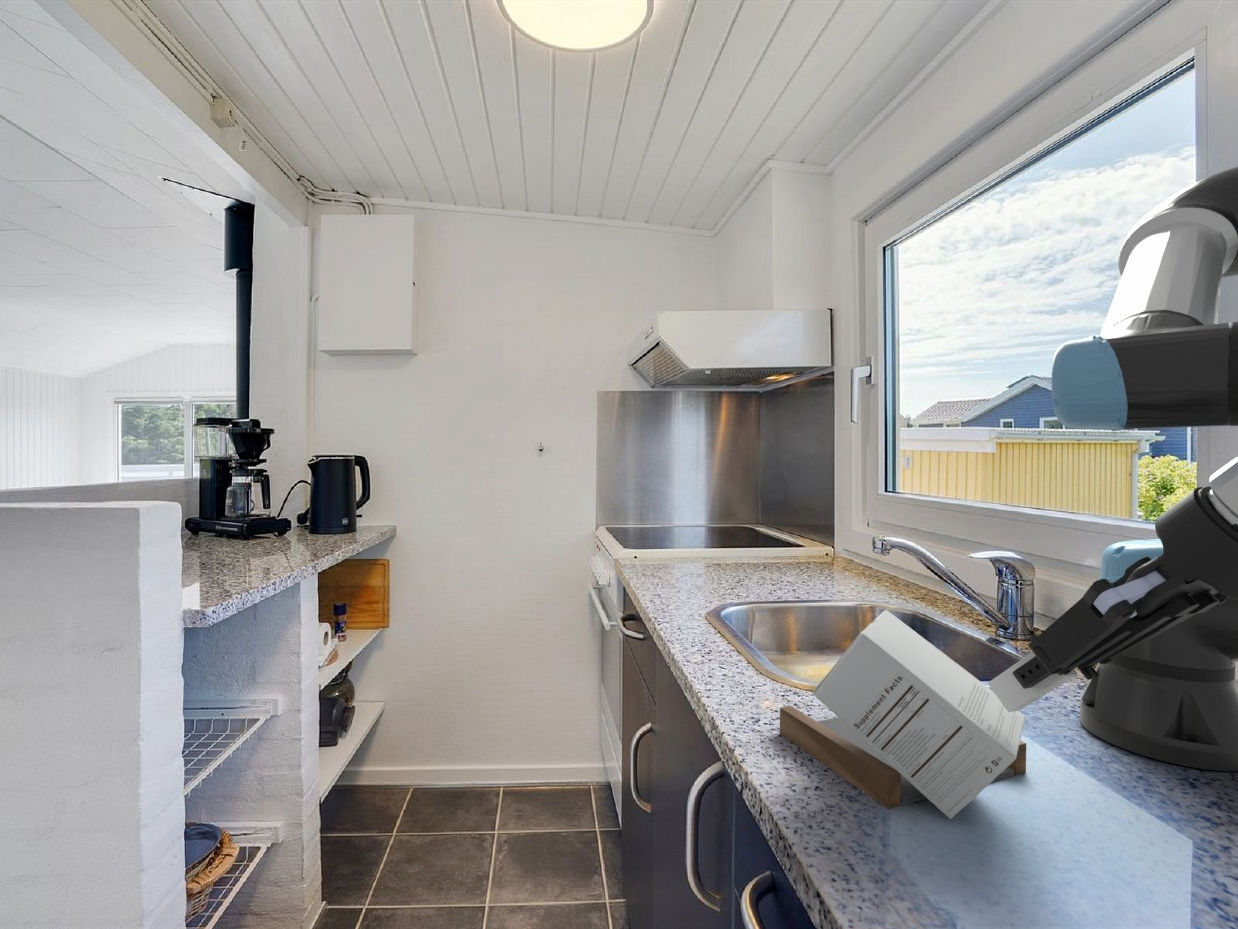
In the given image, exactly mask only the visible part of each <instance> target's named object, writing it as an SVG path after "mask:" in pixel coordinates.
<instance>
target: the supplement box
mask: <svg viewBox="0 0 1238 929" xmlns="http://www.w3.org/2000/svg"><path fill="white" fill-rule="evenodd" d="M812 695H813V696H814V697H816V699H818V700H819V701H820V702H821V703H822V704H823V705H825V707H827V708H828V710H830V711H831V712H832V713H833V714H834V715H835V716H836V717H837V718H838V717H839V718H840V719H841V720H842V721H843V722H844V723H845V724H846V725H848V726H849V727H850V728H851V729H852V730H853V731H854V732H855V733H856V734H857V735H858V736H860V737H861V738H862V739H863V740H864V741H865V742H866V743H867V744H868V745H869V746H871V747H872V748H873V749H874V750H875V751H876V752H877V753H878V754H879V755H880V756H881V757H883V758H884V759H885V760H886V761H887V762H888V763H889V764H890V765H891V766H892V767H893V768H895V769H896V770H897V771H898V772H899V773H900V774H901V775H902V776H903V777H904V778H905V779H907V780H908V781H909V782H910V783H911V784H912V785H913V786H914V787H915V788H916V789H918V790H919V791H920V792H921V793H922V794H923V795H924V796H925V797H926V799H927V800H928V801H929V802H931V803H932V804H933V805H934V806H935V807H936V808H937V809H938V810H939V811H940V812H942V814H944V815H945V816H946V817H947V818H948V819H949V820H952V819H953V818H954V817H955V816H956V815H957V814H958V813H959V812H961V811H962V810H963V809H964V808H965V807H966V806H967V805H969V803H970V802H971V801H973V800H974V799H975V798H976V797H977V796H978V795H979V794H980V793H981V792H982V791H983V790H984V789H985V788H986V787H987V786H989V785H990V784H991V783H992V782H994V781H993V780H994V779H995V778H996V777H997V776H998V775H999V774H1000V773H1001V772H1003V771H1004V770H1005V769H1006V768H1007V767H1008V766H1009V765H1010V764H1011V763H1012V762H1013V761H1014V760H1015V759H1016V757H1017V752H1018V748H1019V744H1020V741H1022V740H1021V739H1022V734H1023V730H1024V726H1025V721H1026V719H1027V718H1026V715H1025V714H1023V713H1022V712H1021V710H1018V711H1014V712H1009V713H1008V711H1007V710H1006V708H1005V707H1004V706H1003V704H1002V703H1001V701H1000V700H999V698H998V697H997V696H996V694H995V693H994V691H993V690H992V689H991V687H990V688H989V687H988V686H987V685H985V683H983V682H982V681H980V680H979V679H978V678H977V677H975V676H974V675H972V674H971V673H970V671H967V670H966V669H964V667H963V666H961V665H960V664H958V663H957V662H956V661H954V660H953V659H952V658H950V657H949V656H948V655H946V654H945V653H944V652H942V651H941V650H940V649H938V647H936V646H935V645H933V644H932V643H931V642H929V641H928V640H927V639H925V637H923V636H922V635H920V634H919V633H917V632H916V631H915V630H914V629H912V628H911V627H910V626H908V625H907V624H905V623H904V622H903V621H902V620H901V619H900V618H898V617H897V616H895V615H894V614H893V613H892V612H890V611H889V610H888V609H885V610H883V611H882V612H881V613H880V614H879V615H878V616H877V617H875V619H873V620H872V621H871V623H869V624H868V625H867V626H866V627H865V628H864V629H863V630H862V631H861V632H860V633H859V634H858V635H857V636H856V637H855V638H854V640H853V641H852V642H851V644H850V645H849V646H848V648H847V649H846V650H845V651H844V652H843V654H842V655H841V656H840V657H839V659H838V660H837V662H836V663H835V664H834V665H833V667H831V669H830V670H829V672H827V674H826V675H825V676H824V677H823V679H822V680H820V682H819V683H818V685H817V686H816V687H815V689H814V690H813V691H812Z"/></svg>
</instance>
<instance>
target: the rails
mask: <svg viewBox="0 0 1238 929" xmlns="http://www.w3.org/2000/svg"><path fill="white" fill-rule="evenodd" d="M817 721H818V720H815V719H813V718H812V717H810V716H808V715H807V714H806V713H804V712H802V711H800V710H798V709H797V708H795V707H793V706H792V705H786V706H781V707H779V734H780V735H782V736H783V737H784V738H786V739H788V740H789V741H790V742H792V743H793V744H794V745H795V746H797V747H799V748H800V749H802V750H803V751H805V752H806V753H808V754H809V755H810V756H811V757H813V758H815V759H816V760H818V762H820V763H821V764H823V765H824V766H826V767H828V768H829V769H830V770H832V771H833V772H834V773H836V774H837V775H839V776H840V777H842V778H843V779H845V780H846V781H848V782H849V783H850V784H852V785H853V786H855V787H856V788H857V789H859V790H860V791H862V792H863V793H864V794H866V795H867V796H869V797H870V798H872V799H873V800H875V801H876V802H877V803H879V804H880V805H882V806H884V808H886V809H892V808H895V807H899V806H901V804H900V790H901V774H900V773H899V772H898V771H897V770H895V769H894V768H892V767H890V766H889V765H887V764H885V763H884V762H882V761H881V760H879V759H877V758H876V757H874V756H872V755H871V754H869V753H867V752H866V751H864V750H862V749H861V748H859V747H858V746H856V745H854V744H853V743H851V742H849V741H848V740H846V739H844V738H843V737H841V736H840V735H838V734H836V733H835V732H833V731H831V730H830V729H828V728H826V727H825V726H823V725H822V724H820V723H818V722H817ZM1008 767H1010V768H1012V769H1014V776H1017V775H1018V776H1019V775H1021V774H1026V773H1027V742H1025V741H1022V740H1020V744H1019V748H1018V752H1017V757H1016V759H1015V760H1014V761H1013V762H1012V763H1011V764H1010V765H1009V766H1008Z"/></svg>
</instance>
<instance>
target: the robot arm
mask: <svg viewBox="0 0 1238 929" xmlns="http://www.w3.org/2000/svg"><path fill="white" fill-rule="evenodd" d="M1117 264H1118V265H1117V266H1118V270H1119V274H1120V275H1121V278H1120V279H1121V280H1120V281H1119V284H1118V286H1117V289H1116V292H1115V294H1114V298H1113V300H1112V303H1111V306H1110V308H1109V311H1108V314H1107V316H1106V319H1105V322H1104V323H1103V326H1102V328H1101V333H1100V334H1099V335H1098V334H1095V335H1091V336H1089V337H1087V338H1086V337H1085V338H1082V339H1076V340H1069V341H1067V342H1064V343H1062V344H1061V345H1060V346H1059V347H1058V348H1057V350H1056V351H1055V354H1054V357H1053V360H1052V367H1051V381H1050V382H1051V383H1050V384H1051V399H1052V407H1053V412H1054V415H1055V418H1057V421H1059V423H1060V424H1061V425H1062V426H1065V427H1067V428H1070V429H1079V430H1081V429H1082V430H1083V429H1084V430H1085V429H1088V430H1110V431H1112V432H1118V431H1119V432H1120V431H1122V430H1138V429H1140V430H1142V429H1143V430H1145V429H1167V428H1168V429H1172V428H1201V427H1202V428H1203V427H1204V428H1205V427H1206V428H1208V427H1238V321H1233V322H1222V323H1218V322H1219V313H1220V312H1219V311H1220V300H1221V289H1222V278H1227V277H1235V276H1238V166H1236V167H1233V168H1228V169H1226V170H1223V171H1220V172H1217V173H1214V174H1211V175H1210V176H1207V177H1206V178H1205V177H1204V178H1203V179H1200V180H1199V181H1197V182H1194V183H1193V184H1191V185H1188V186H1187V187H1185V188H1183V189H1182V190H1179V191H1178V192H1176V193H1174V194H1172V196H1170V197H1168V198H1166V199H1165V200H1164V201H1163V202H1161V203H1160V204H1158V205H1156V206H1155V207H1154V208H1153V209H1151V210H1150V211H1148V212H1147V213H1146V214H1144V216H1142V217H1141V219H1140V220H1139V221H1138V222H1137V223H1136V224H1135V225H1134V226H1133V228H1131V230H1130V231H1129V232H1128V234H1127V236H1126V237H1125V240H1124V242H1123V244H1122V245H1121V248H1120V252H1119V256H1118V263H1117ZM1154 529H1155V533H1156V536H1157V538H1154V539H1153V538H1150V539H1148V538H1147V539H1135V540H1125V541H1119V542H1116V543H1115V542H1114V543H1112V544H1110V545H1108V546H1107V547H1106V548H1105V549H1104V550H1103V552H1102V556H1101V566H1100V575H1099V576H1100V577H1098V579H1097V580H1096V581H1094V582H1093V583H1092V584H1091V585H1090V586H1089V588H1088V589H1086V591H1085V593H1084V594H1083V596H1082V597H1081V598H1080V599H1079V600H1078V601H1076V602H1075V603H1074V604H1073V605H1072V606H1071V607H1069V608H1068V610H1066V611H1065V612H1064V613H1062V615H1060V616H1059V617H1058V618H1057V619H1056V620H1055V621H1054V622H1052V623H1051V624H1050V625H1049V626H1048V627H1046V629H1044V630H1043V631H1042V632H1041V633H1040V634H1038V635H1034V636H1033V635H1032V636H1031V637H1030V642H1029V643H1028V644H1027V646H1028V648H1029V650H1031V652H1030V653H1029V654H1027V655H1025V656H1024V657H1023V658H1021V659H1020V660H1019V661H1017V662H1016V663H1014V664H1013V665H1011V666H1010V667H1009V668H1007V669H1006V670H1004V671H1003V672H1001V673H1000V674H998V675H997V676H996V677H994V678H992V679H991V680H989V682H987V684H988V685H989V687H990V689H991V690H992V691H993V692H994V693H995V694H996V696H997V697H998V698H999V700H1000V701H1001V703H1002V704H1003V706H1004V707H1005V708H1006V710H1007V711H1008V713H1009V712H1014V711H1021V710H1023V709H1025V708H1026V707H1028V706H1029V705H1031V704H1033V703H1034V702H1036V701H1038V700H1039V699H1040V698H1043V697H1044V696H1046V695H1047V694H1049V693H1050V692H1052V691H1054V690H1055V689H1057V688H1059V687H1060V686H1061V685H1063V684H1065V683H1066V682H1068V681H1069V680H1071V679H1072V678H1074V677H1076V676H1077V675H1079V674H1078V672H1077V671H1076V670H1075V669H1078V670H1079V671H1080V673H1081V674H1082V675H1083V676H1084V677H1085V679H1086V680H1087V681H1089V682H1088V683H1087V686H1086V689H1085V691H1084V693H1083V695H1082V697H1081V699H1080V704H1079V722H1080V724H1081V725H1082V727H1084V728H1085V730H1087V731H1088V732H1090V733H1091V734H1092V735H1094V736H1096V737H1097V738H1099V739H1101V740H1103V741H1105V742H1107V743H1110V744H1112V745H1113V746H1116V747H1119V748H1121V749H1124V750H1127V751H1129V752H1131V753H1135V754H1138V755H1141V756H1143V757H1148V758H1151V759H1155V760H1158V761H1161V762H1164V763H1165V762H1166V763H1169V764H1175V765H1180V766H1183V767H1184V766H1185V767H1188V768H1194V769H1195V768H1196V769H1201V770H1208V771H1221V772H1223V771H1224V772H1238V690H1237V687H1236V663H1238V455H1237V456H1236V457H1235V458H1233V459H1232V460H1230V461H1229V462H1228V463H1226V464H1225V465H1223V466H1222V467H1221V468H1219V469H1218V470H1217V471H1215V472H1214V473H1213V474H1211V475H1210V476H1209V486H1199V487H1196V488H1195V489H1193V490H1192V491H1191V492H1189V493H1188V494H1186V495H1185V496H1184V497H1182V498H1181V499H1180V500H1178V501H1177V502H1176V503H1174V504H1173V505H1172V506H1171V507H1169V508H1168V509H1167V510H1165V511H1164V512H1163V513H1161V514H1160V515H1159V516H1158V517H1157V519H1156V521H1155V524H1154ZM1094 666H1095V668H1094Z"/></svg>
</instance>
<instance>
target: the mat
mask: <svg viewBox="0 0 1238 929" xmlns="http://www.w3.org/2000/svg"><path fill="white" fill-rule="evenodd" d="M816 721H817V722H818V723H820V724H822V725H823V726H825V727H826V728H828V729H830V730H831V731H833V732H835V733H836V734H838V735H840V736H841V737H843V738H844V739H846V740H848V741H849V742H851V743H853V744H854V745H856V746H858V747H859V748H861V749H862V750H864V751H866V752H867V753H869V754H871V755H872V756H874V757H876V758H877V759H879V760H881V761H882V762H884V763H885V764H887V765H889V766H890V767H892V766H891V765H890V764H889V763H888V762H887V761H886V760H885V759H884V758H883V757H881V756H880V755H879V754H878V753H877V752H876V751H875V750H874V749H873V748H872V747H871V746H869V745H868V744H867V743H866V742H865V741H864V740H863V739H862V738H861V737H860V736H858V735H857V734H856V733H855V732H854V731H853V730H852V729H851V728H850V727H849V726H848V725H846V724H845V723H844V722H843V721H842V720H841V719H840V718H839V717H838V716H837V717H834V718H828V719H822V720H816ZM892 768H893V767H892ZM894 769H895V768H894ZM895 770H896V769H895ZM1014 776H1015V774H1014V769H1012V768H1010V767H1007V768H1006V769H1005V770H1004V771H1003V772H1001V773H1000V774H999V775H998V776H997V777H996V778H995V779H994V780H993V781H992V782H995V781H999V780H1003V779H1006V778H1010V777H1014ZM926 799H927V798H926V797H925V796H924V795H923V794H922V793H921V792H920V791H919V790H918V789H916V788H915V787H914V786H913V785H912V784H911V783H910V782H909V781H908V780H907V779H905V778H904V777H903V776H902V775H901V790H900V805H902V806H903V805H908V804H911V803H914V802H918V801H922V800H926Z"/></svg>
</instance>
